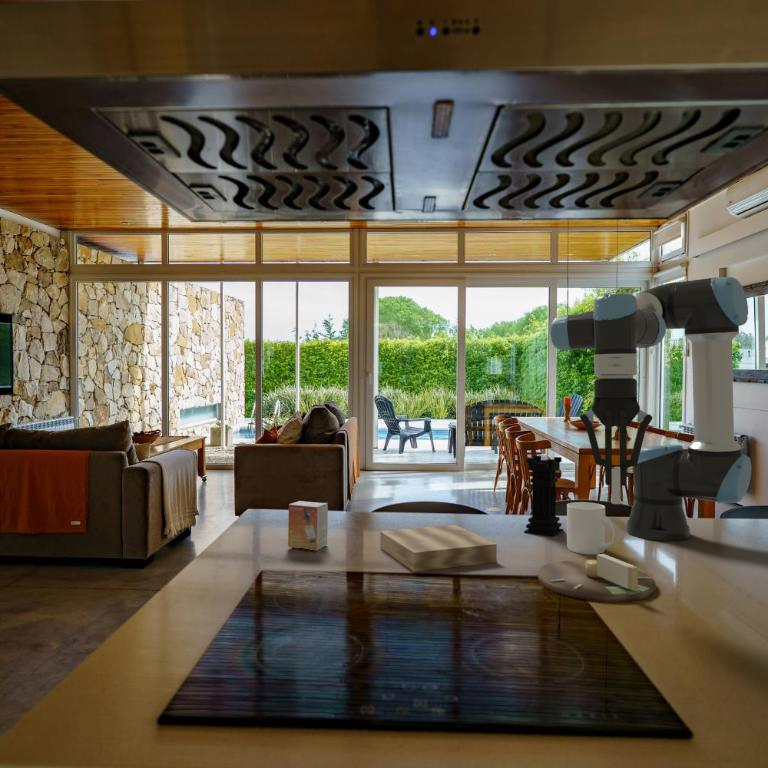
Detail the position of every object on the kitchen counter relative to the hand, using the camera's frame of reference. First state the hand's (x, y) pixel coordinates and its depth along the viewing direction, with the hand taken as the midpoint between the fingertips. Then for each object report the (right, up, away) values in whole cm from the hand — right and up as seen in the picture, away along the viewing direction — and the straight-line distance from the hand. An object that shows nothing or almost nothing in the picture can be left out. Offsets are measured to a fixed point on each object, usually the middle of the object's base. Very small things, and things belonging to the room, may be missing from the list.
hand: (616, 502), depth 116 cm
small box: (-62, -17, +33) cm, 72 cm away
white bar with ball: (0, -16, +2) cm, 16 cm away
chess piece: (-1, -17, +48) cm, 51 cm away
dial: (-2, -17, +7) cm, 18 cm away
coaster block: (-32, -17, +26) cm, 44 cm away
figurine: (-10, -25, +75) cm, 80 cm away
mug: (+5, -18, +29) cm, 34 cm away
